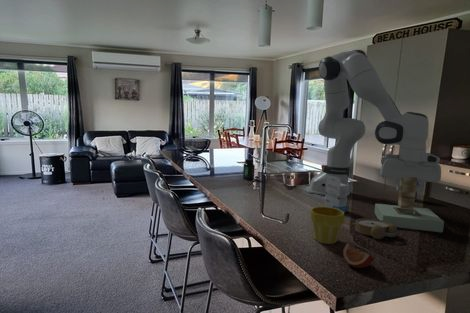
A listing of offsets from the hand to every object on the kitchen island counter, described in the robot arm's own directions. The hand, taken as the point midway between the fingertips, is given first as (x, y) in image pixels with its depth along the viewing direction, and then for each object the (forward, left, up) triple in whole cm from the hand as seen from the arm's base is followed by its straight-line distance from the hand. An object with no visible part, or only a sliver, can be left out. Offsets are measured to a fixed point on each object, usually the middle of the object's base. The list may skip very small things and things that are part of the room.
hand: (407, 191), depth 119 cm
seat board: (+1, 0, -12) cm, 12 cm away
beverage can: (+12, +38, -13) cm, 42 cm away
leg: (0, 0, -6) cm, 6 cm away
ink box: (-25, +6, -13) cm, 29 cm away
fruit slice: (-22, -44, -13) cm, 51 cm away
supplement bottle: (-73, +53, -13) cm, 91 cm away
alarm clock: (-13, -17, -13) cm, 25 cm away
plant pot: (-30, -29, -13) cm, 43 cm away
